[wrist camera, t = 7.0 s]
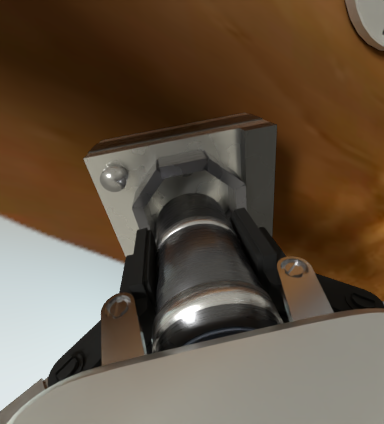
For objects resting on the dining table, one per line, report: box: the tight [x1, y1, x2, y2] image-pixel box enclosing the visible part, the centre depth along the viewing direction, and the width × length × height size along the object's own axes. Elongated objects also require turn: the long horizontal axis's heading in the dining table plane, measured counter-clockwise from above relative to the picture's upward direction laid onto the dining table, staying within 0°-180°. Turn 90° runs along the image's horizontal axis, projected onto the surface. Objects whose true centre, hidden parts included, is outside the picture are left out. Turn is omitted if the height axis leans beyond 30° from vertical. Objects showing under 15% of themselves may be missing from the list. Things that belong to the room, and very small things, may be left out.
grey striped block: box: [83, 113, 277, 256], centre depth 17 cm, size 12×9×7 cm
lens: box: [152, 193, 283, 353], centre depth 11 cm, size 5×5×8 cm
